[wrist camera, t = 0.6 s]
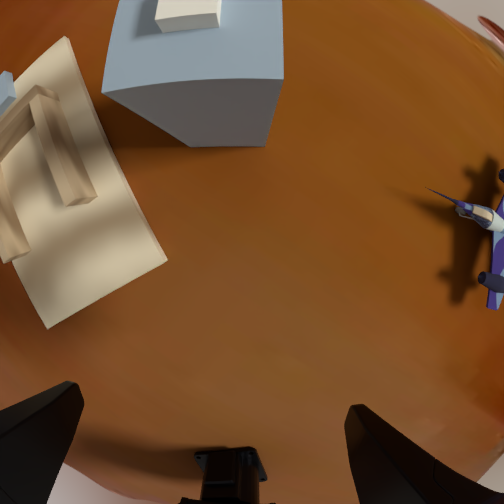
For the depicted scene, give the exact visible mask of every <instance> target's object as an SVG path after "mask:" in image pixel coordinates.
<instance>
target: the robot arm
mask: <svg viewBox="0 0 504 504" xmlns="http://www.w3.org/2000/svg"><path fill="white" fill-rule="evenodd" d="M83 408H84V399H83V396H82V394H81V391H80V388H79V385H78V384H77V383H75V382H71V381H65V382H63V383H61V384H58V385H56V386H54V387H52V388H50V389H48V390H46V391H43V392H41V393H39V394H37V395H35V396H32V397H30V398H28V399H26V400H23V401H21V402H19V403H17V404H14V405H12V406H10V407H8V408H5V409H3V410H1V411H0V504H47V501H48V498H49V496H50V493H51V490H52V488H53V485H54V483H55V480H56V478H57V475H58V473H59V470H60V468H61V466H62V463H63V461H64V459H65V456H66V454H67V452H68V450H69V447H70V445H71V443H72V440H73V438H74V435H75V432H76V429H77V425H78V422H79V419H80V416H81V413H82V411H83ZM344 429H345V435H346V442H347V449H348V456H349V463H350V468H351V472H352V476H353V480H354V483H355V487H356V491H357V495H358V498H359V502H360V504H504V493H499V492H496V491H493V490H490V489H488V488H486V487H484V486H482V485H480V484H478V483H476V482H474V481H472V480H470V479H468V478H466V477H464V476H463V475H461V474H459V473H457V472H455V471H454V470H452V469H451V468H449V467H448V466H446V465H445V464H443V463H442V462H440V461H439V460H437V459H435V458H434V457H433V456H432V455H430V454H429V453H428V452H426V451H425V450H423V449H422V448H421V447H419V446H418V445H417V444H415V443H414V442H412V441H411V440H410V439H408V438H407V437H406V436H404V435H403V434H402V433H400V432H399V431H398V430H396V429H395V428H394V427H392V426H391V425H390V424H389V423H387V422H386V421H385V420H383V419H382V418H381V417H379V416H378V415H377V414H376V413H374V412H373V411H372V410H370V409H369V408H368V407H367V406H365V405H364V404H356V405H351V406H350V408H349V411H348V414H347V417H346V420H345V424H344ZM194 458H195V460H196V462H197V463H198V465H199V466H200V468H201V469H202V471H203V472H204V476H203V482H202V488H201V495H200V500H194V499H188V498H185V497H182V499H181V502H180V503H178V504H259V482H263V481H267V475H266V472H265V470H264V468H263V465H262V463H261V460H260V458H259V455H258V453H257V450H256V449H255V448H244V449H235V450H224V451H211V452H196V453H195V454H194ZM270 504H276V503H270Z"/></svg>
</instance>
